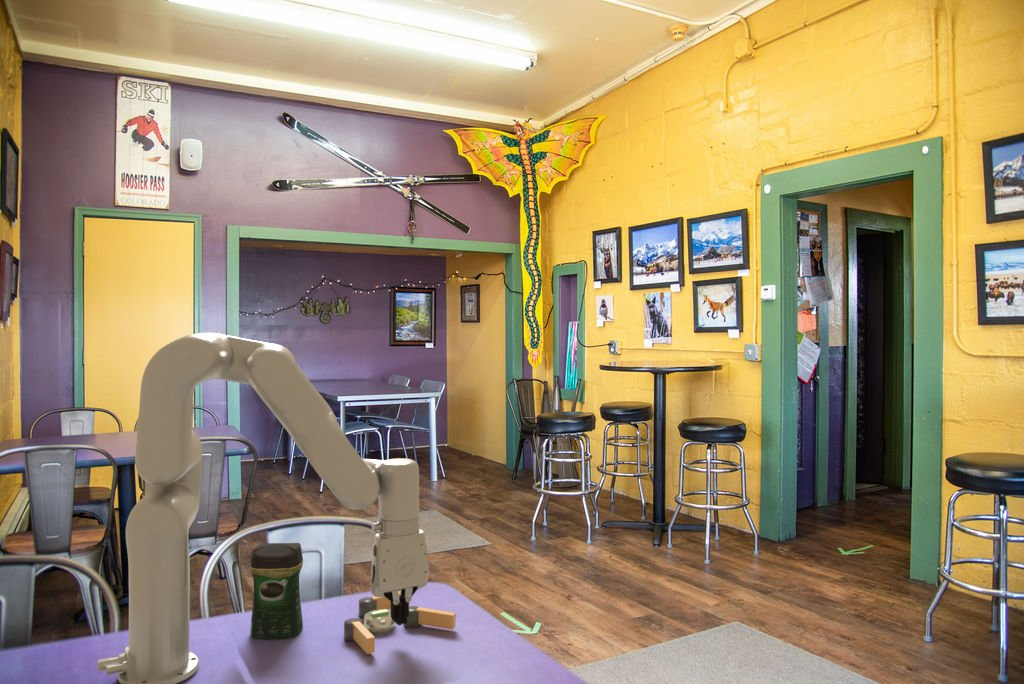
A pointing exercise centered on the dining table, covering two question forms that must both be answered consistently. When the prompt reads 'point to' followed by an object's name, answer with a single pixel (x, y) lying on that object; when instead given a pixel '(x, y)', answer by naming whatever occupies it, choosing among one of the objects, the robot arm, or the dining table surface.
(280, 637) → the coffee jar
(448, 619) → the knob right
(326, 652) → the dining table surface
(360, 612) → the knob back
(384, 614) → the level plate
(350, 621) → the knob left
